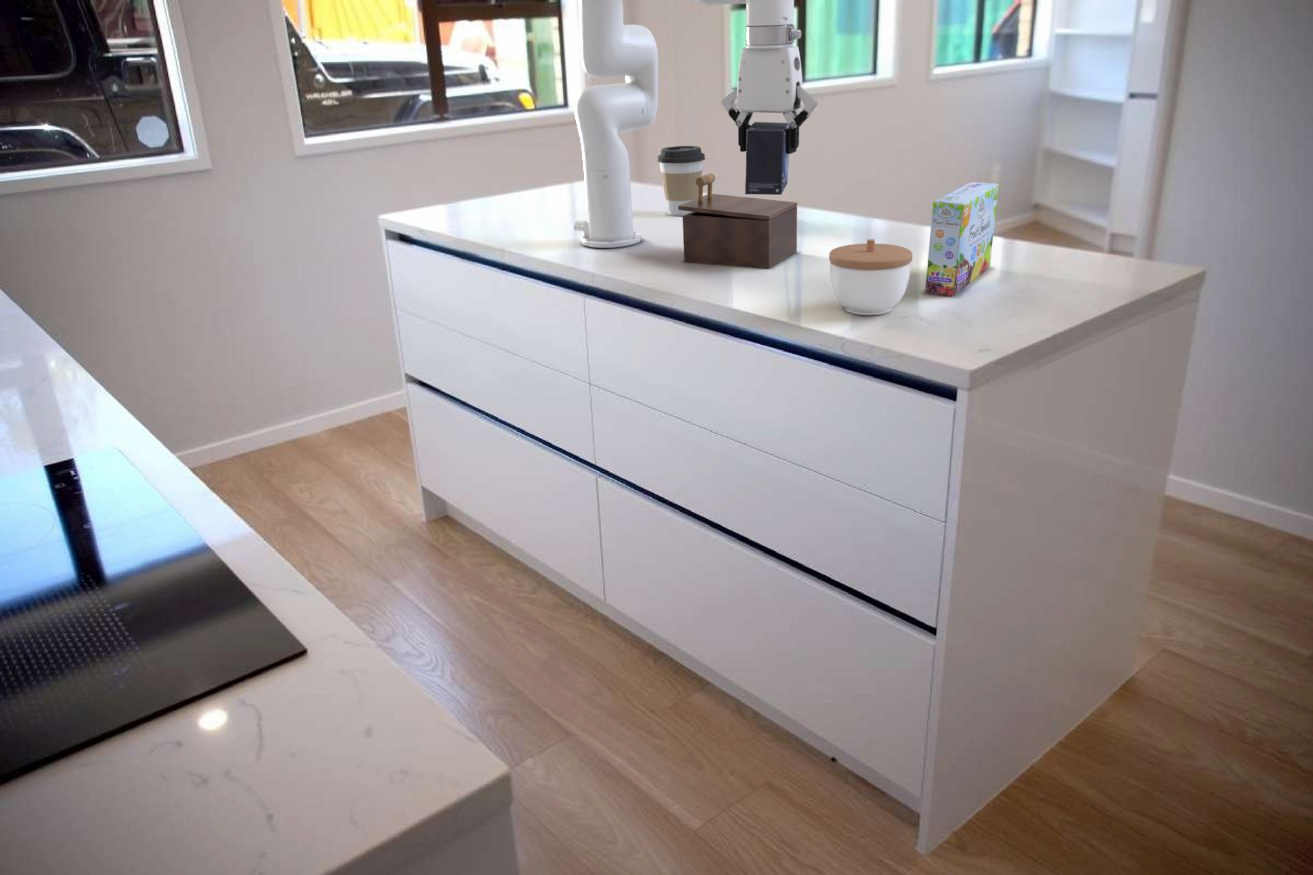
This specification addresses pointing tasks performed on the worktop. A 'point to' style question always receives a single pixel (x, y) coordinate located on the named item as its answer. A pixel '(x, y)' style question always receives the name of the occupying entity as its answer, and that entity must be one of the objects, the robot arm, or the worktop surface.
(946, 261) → the snack box
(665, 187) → the coffee cup
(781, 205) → the lid
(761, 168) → the small box
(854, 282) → the lidded bowl
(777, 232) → the chest
